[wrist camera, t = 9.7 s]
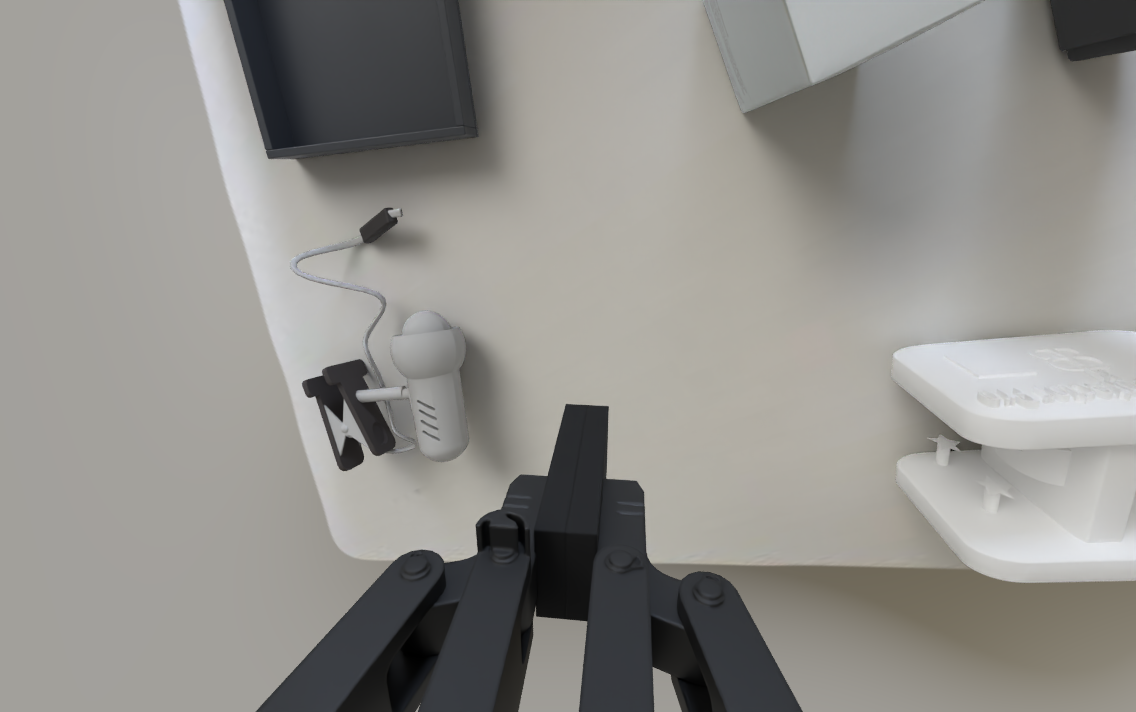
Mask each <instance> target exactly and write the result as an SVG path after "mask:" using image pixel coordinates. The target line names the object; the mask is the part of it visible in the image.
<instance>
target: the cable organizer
mask: <svg viewBox="0 0 1136 712" xmlns="http://www.w3.org/2000/svg"><path fill="white" fill-rule="evenodd" d="M891 378H892V379H893V380H894V381H895V382H896V383H897V384H898V385H900V386H901V387H902V388H903V389H904V390H906V391H907V392H908V393H909V394H910V395H912V396H913V397H914V398H915V399H916V400H918V401H919V402H920V403H921V404H923V405H924V406H925V407H926V408H927V409H929V410H930V411H931V412H932V413H933V414H935V415H936V416H937V417H938V418H939V419H941V420H942V421H943V422H944V423H946V424H947V425H948V426H949V427H950V428H952V429H953V430H954V431H955V432H956V433H958V434H959V435H960V436H962V437H963V438H965V439H967V440H969V441H972V442H975V443H978V444H982V449H981V450H966V451H960V450H959V449H958V448H957V447H956V446H955V445H957V444H958V443H960V442H958V441H953V440H948V439H947V438H945V437H944V436H943V435H941V434H939V437H938V438H928V439H930V440H932V441H934V442H936V443H937V452H926V453H915V454H910V455H907V456H904V457H902V458H901V459H899V460H898V462H897V468H896V479H895V480H896V483H897V484H898V486H899V487H900V488H901V489H902V491H903V492H904V493H905V494H906V495H907V497H908V498H909V499H910V500H911V501H912V503H913V504H914V505H915V506H916V507H917V509H918V510H919V511H920V512H921V513H922V515H923V516H924V517H925V518H926V519H927V521H928V522H929V523H930V524H931V525H932V527H933V528H934V529H935V530H936V531H937V533H938V534H939V535H940V536H941V537H942V539H943V540H944V541H945V542H946V543H947V545H948V546H949V547H950V548H951V549H952V551H953V552H954V553H955V554H956V555H957V557H958V558H959V559H960V560H961V561H962V562H963V563H964V564H965V565H966V566H968V567H969V568H971V569H973V570H975V571H977V572H979V573H981V574H983V575H986V576H989V577H992V578H995V579H1000V580H1004V581H1010V582H1018V583H1046V582H1094V581H1095V582H1096V581H1136V332H1133V331H1121V330H1097V331H1084V332H1071V333H1059V334H1047V335H1035V336H1023V337H1010V338H998V339H986V340H974V341H961V342H949V343H937V344H925V345H915V346H910V347H905V348H902V349H899V350H897V351H896V352H894V354H893V358H892V371H891ZM950 449H953V450H956V451H950Z"/></svg>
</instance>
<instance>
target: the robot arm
mask: <svg viewBox="0 0 1136 712" xmlns="http://www.w3.org/2000/svg"><path fill="white" fill-rule="evenodd" d="M608 410H609V406H592V405H572V404H566V406H565V410H564V414H563V418H562V422H561V425H560V429H559V433H558V437H557V441H556V445H555V449H554V453H553V457H552V461H551V465H550V468H549V472H548V476H536V475H519V476H518V477H517V478H516V479H515V480H514V481H513V482H512V483H511V484H510V486H509V489H508V492H507V495H506V498H505V500H504V503H503V507H502V508H501V510H496V511H493V512H490V513H488V514H486V515H485V516H483V517H482V518H480V520H479V521H478V522H477V524H476V535H477V547H478V553H477V555H475V556H473V557H470V558H468V559H464V560H460V561H454V562H449V563H444V561H443V559H442V558H441V556H440V555H439V554H437V553H435V552H433V551H429V550H417V551H411V552H409V553H407V554H404V555H402V556H400V557H399V558H398V559H397V560H395V561H394V562H393V563H392V564H391V565H390V566H389V567H388V568H387V569H386V570H385V572H384V573H383V574H382V575H381V576H380V577H379V578H378V579H377V580H376V581H375V583H374V584H373V585H372V586H371V587H370V588H369V589H368V590H367V591H366V592H365V593H364V594H363V595H362V597H361V598H360V599H359V600H358V601H357V602H356V603H355V604H354V605H353V606H352V608H351V609H350V610H349V611H348V612H347V613H346V614H345V615H344V616H343V617H342V618H341V619H340V621H339V622H338V623H337V624H336V625H335V626H334V627H333V628H332V629H331V630H330V631H329V633H328V634H327V635H326V636H325V637H324V638H323V639H322V640H321V641H320V642H319V643H318V644H317V646H316V647H315V648H314V649H313V650H312V651H311V652H310V653H309V654H308V655H307V656H306V658H305V659H304V660H303V661H302V662H301V663H300V664H299V665H298V666H297V667H296V668H295V669H294V671H293V672H292V673H291V674H290V675H289V676H288V677H287V678H286V679H285V680H284V682H283V683H282V684H281V685H280V686H279V687H278V688H277V689H276V690H275V691H274V692H273V693H272V695H271V696H270V697H269V698H268V699H267V700H266V701H265V702H264V703H263V704H262V705H261V707H260V708H259V709H258V710H257V711H256V712H415V711H416V710H417V708H418V706H419V705H420V707H419V710H418V712H518V710H519V704H520V699H521V695H522V689H523V684H524V679H525V674H526V669H527V664H528V659H529V654H530V649H531V644H532V639H533V616H534V612H535V607H536V616H537V617H548V618H559V619H570V620H580V621H588V622H587V633H586V643H585V644H586V645H585V654H584V664H583V675H582V685H581V695H580V707H579V712H654V696H653V669H652V667H654V668H657V669H659V670H661V671H664V672H666V673H669V674H671V679H672V683H673V686H674V689H675V692H676V695H677V698H678V701H679V704H680V707H681V710H682V712H803V711H802V710H801V708H800V706H799V704H798V702H797V701H796V699H795V697H794V695H793V693H792V691H791V689H790V687H789V685H788V684H787V682H786V680H785V678H784V676H783V675H782V673H781V671H780V669H779V667H778V665H777V663H776V662H775V660H774V658H773V656H772V654H771V652H770V651H769V649H768V647H767V645H766V643H765V641H764V640H763V638H762V636H761V634H760V632H759V630H758V628H757V627H756V625H755V623H754V621H753V619H752V618H751V615H750V614H749V612H748V610H747V608H746V606H745V605H744V603H743V601H742V599H741V597H740V595H739V593H738V591H737V590H736V589H735V588H734V586H733V585H732V584H731V583H730V582H729V581H728V580H726V579H725V578H723V577H722V576H720V575H717V574H714V573H711V572H695V573H691V574H688V575H687V576H686V577H685V578H683V579H682V580H678V579H675V578H672V577H670V576H668V575H665V574H663V573H662V572H660V571H659V570H657V569H656V568H655V567H654V566H653V565H652V564H651V563H650V561H649V559H648V557H647V553H646V533H645V506H644V491H643V490H642V488H641V487H640V485H639V484H638V482H637V481H630V480H614V479H606V472H607V441H608ZM420 703H421V704H420Z"/></svg>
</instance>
